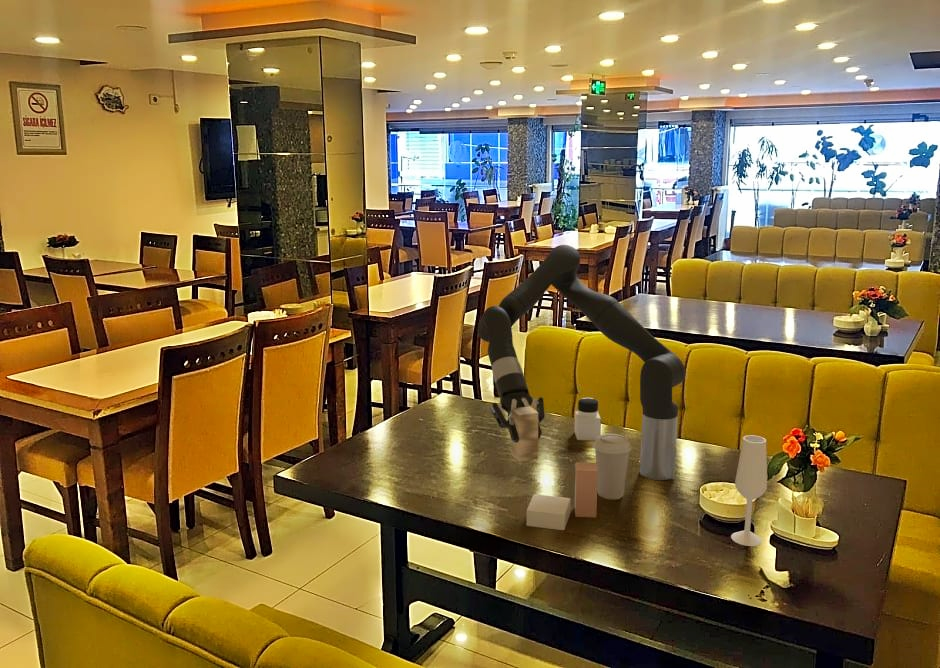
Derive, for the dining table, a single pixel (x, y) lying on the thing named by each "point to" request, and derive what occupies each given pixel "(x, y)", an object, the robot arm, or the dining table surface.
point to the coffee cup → (611, 464)
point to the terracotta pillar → (586, 489)
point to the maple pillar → (525, 434)
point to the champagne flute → (751, 482)
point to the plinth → (548, 512)
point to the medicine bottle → (587, 420)
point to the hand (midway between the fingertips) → (527, 439)
